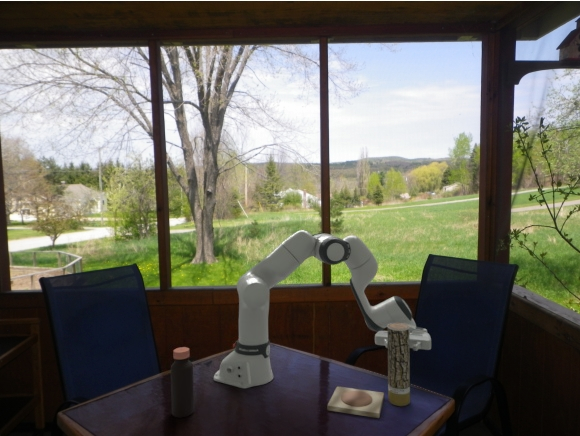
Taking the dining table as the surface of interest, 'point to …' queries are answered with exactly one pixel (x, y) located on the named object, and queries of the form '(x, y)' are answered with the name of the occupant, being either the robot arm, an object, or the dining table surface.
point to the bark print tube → (398, 364)
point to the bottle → (182, 383)
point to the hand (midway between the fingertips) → (401, 347)
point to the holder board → (356, 402)
